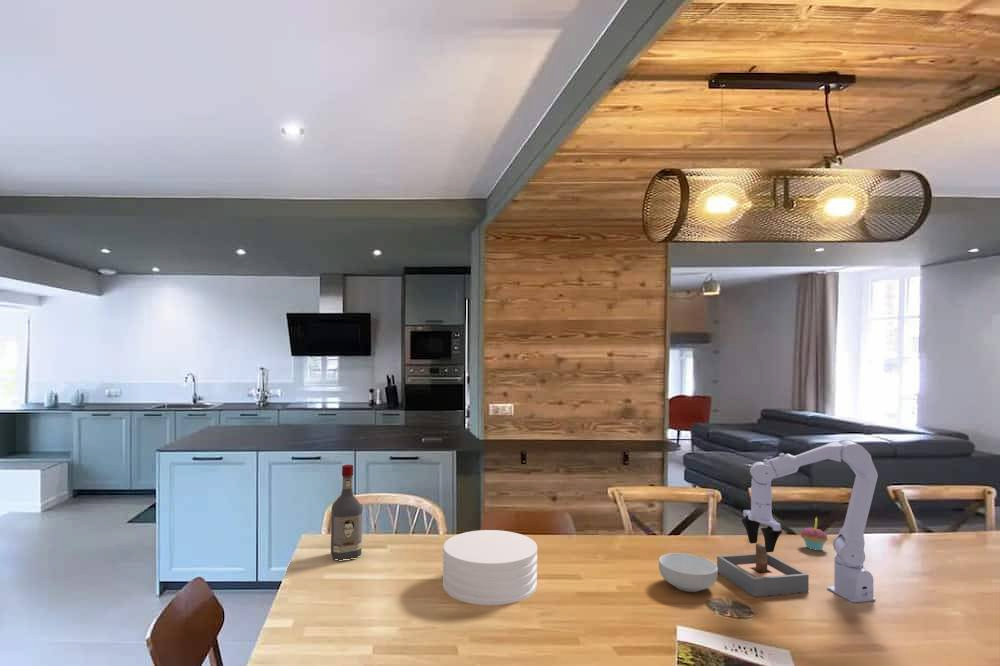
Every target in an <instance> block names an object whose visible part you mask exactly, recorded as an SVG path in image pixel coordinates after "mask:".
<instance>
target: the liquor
mask: <svg viewBox="0 0 1000 666" xmlns="http://www.w3.org/2000/svg"><path fill="white" fill-rule="evenodd" d="M341 467H342V468H341V476H342V484H341V485H342V490H341V493H340V495H339V496H338V498H337V499H335V501H334V502H333V503H332V505H331V521H330V522H331V524H330V525H331V526H330V527H331V529H330V532H331V534H330V554H331V556H332V560H334V559H338V560H343V559H351V558H357V557H358V556H360V555H361V556H362V544H363V543H362V540H363V539H362V535H363V533H362V532H363V530H362V529H363V528H362V527H363V507H362V505H361V503H360V501H358V499H357V498H356V497H355V496H354V492H353V476H354V464H343V465H342V466H341ZM361 556H360V557H361ZM357 559H358V558H357Z"/></svg>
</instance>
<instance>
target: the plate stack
mask: <svg viewBox="0 0 1000 666" xmlns="http://www.w3.org/2000/svg"><path fill="white" fill-rule="evenodd" d="M442 547H443V555H442V559H443V563H442V570H443V571H442V588H443V590H444V592H445V591H446V592H447V593H448V594H449V595H448V594H447V593H446V592H445V593H446V594H447V595H448V596H450V597H451V598H453V599H455V600H457V601H460V602H464V603H467V604H471V605H477V606H478V605H479V606H501V605H502V606H503V605H509V604H510V605H511V604H514V603H517V602H520V601H523V600H525V599H527V598H529V597H530V595H531V596H532V595H533V594H534V593H535V592H536V590H537V588H538V587H537V586H538V572H537V571H538V545H537V543H536V541H535V540H533V539H532V538H531V537H530V536H529V537H528V536H527V535H524V534H521V533H517V532H514V531H513V532H512V531H506V530H499V529H498V530H497V529H484V530H483V529H479V530H471V531H466V532H462V533H458V534H455V535H453V536H451V537H450V538H449V537H448V539H446V540H445V541H444V543H443V546H442Z"/></svg>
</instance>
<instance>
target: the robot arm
mask: <svg viewBox="0 0 1000 666" xmlns="http://www.w3.org/2000/svg"><path fill="white" fill-rule="evenodd" d="M824 460H831V461H834V462H840V463H842V461H843V462H844V463H846V464H847V465H848V466H849V468H850V469H851V470H852V471H853V472H854V474H855V478H854V482H853V487H852V491H851V495H850V498H849V502H848V506H847V511H846V514H845V519H844V522H843V526H842V527H841V528H840V529H839V533H838V535H837V536H836V537H835V538H834V539H833V541H832V546H833V549H834V551H835V552H836V554H835V557H834V560H833V561H834V563H833V564H834V565H833V566H834V570H833V571H834V572H833V573H834V577H833V578H834V580H833V581H834V585H831V586H827V588H826V589H828V590H829V591H832V592H833V593H835V594H836V595H838V596H839V597H840V596H841V597H842V598H844V599H846V600H847V601H849V602H851V603H860V602H861V603H862V602H872V601H876V600H877V599H876V598H875V597H874V577H873V575H872V573H871V572H870V571H868V570H867V569H866V568H865V566H864V563H865V560H866V554H865V537H864V536H865V535H864V533H865V529H866V526H867V521H868V518H869V513H870V510H871V505H872V501H873V498H874V497H873V496H874V494H875V489H876V485H877V482H878V478H879V477H878V476H879V475H878V471H877V469H876V466H875V464H874V462H873V460H872V455H871V454H870V453H869V451H868V450H867V449H866V448H865V447H863V446H862V445H861V444H858V443H856V442H855V441H853V440H852V439H842V440H840V441H832V442H829V443H826V444H823V445H821V446H817V447H816V448H813V449H810V450H807V451H804V452H801V453H800V454H799V453H798V454H796V455H793V454H790V453H786V454H785V453H784V452H781V453H779V454H778V456H776V457H773V458H771V459H768V458H765V459H763V461H756V462H754V463H753V464H752V465H750V466H751V467H750V469H749V473H750V476H751V482H750V483H751V486H750V509H743V512H742V514H743V515H742V516H743V517H744V518H742V519H741V522H742V524H743V526H744V528H745V530H746V531H745V532H746V534H747V538H748V542H749V543H750V544H757V543H758V535H759V529H760V528H761V529H760V530H761V532H762V534H763V538H764V544H765V549H766V552H767V553H773V552H774V551H775V548H776V544H777V541H778V539H779V537H780V536H781V534H782V533H783V530H782V529H781V526H782V525H781V523H780V522H778V521H776V520H775V519H774V518H773V517H772V516H773V515H772V513H773V512H772V504H773V503H772V496H773V495H772V493H773V492H772V481H773V480H774V479H779V478H782V477H785V476H788V475H791V474H795V473H798V470H799V468H800V467H803V466H807V465H810V464H813V463H817V462H821V461H824ZM760 525H763V526H765V527H760Z"/></svg>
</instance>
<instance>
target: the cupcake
mask: <svg viewBox="0 0 1000 666" xmlns="http://www.w3.org/2000/svg"><path fill="white" fill-rule="evenodd" d="M799 533H800V534H799V535H800V538H802V539H803V540H804V542H805V545H806V546H807V547H808V548H811V549H816V550H820V551H822V550H823V548H824V545H825V543H826V542H827V541H828V534H827V533H826V532H825V531H823V530H822V529H819V528H818V516H816V517H815V518H814V527H806V528H803V529H802V530H800V532H799ZM807 547H806V548H807ZM808 548H807V549H808ZM811 549H810V550H811ZM821 549H822V550H821Z"/></svg>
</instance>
